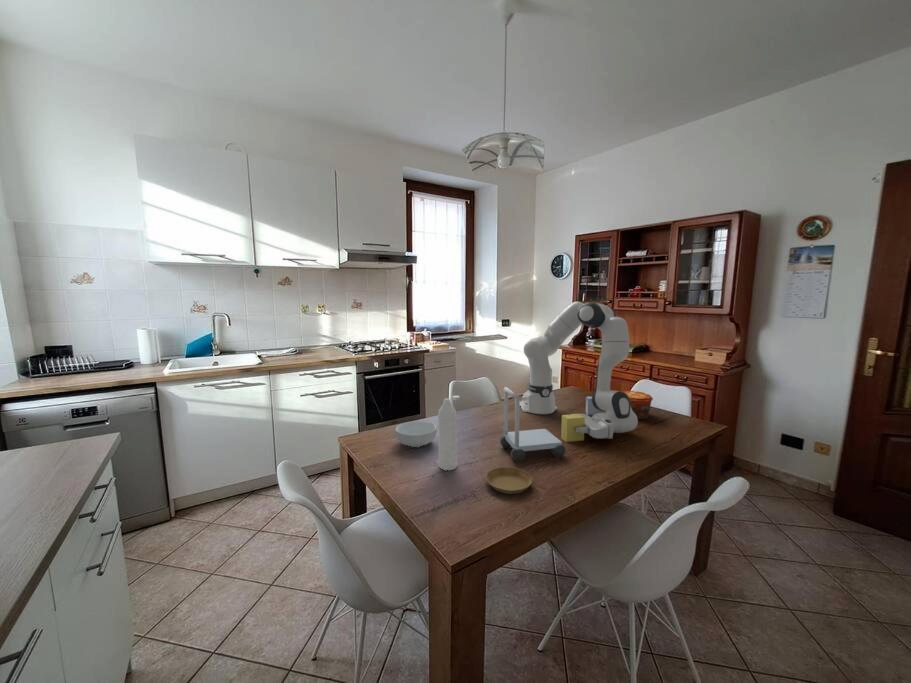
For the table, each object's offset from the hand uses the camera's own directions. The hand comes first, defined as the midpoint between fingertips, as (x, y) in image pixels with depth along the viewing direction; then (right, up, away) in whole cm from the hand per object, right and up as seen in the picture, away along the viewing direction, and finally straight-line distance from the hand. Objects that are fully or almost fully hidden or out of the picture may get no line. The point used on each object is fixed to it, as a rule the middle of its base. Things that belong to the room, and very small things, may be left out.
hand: (570, 426), depth 152 cm
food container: (+41, -2, +29) cm, 50 cm away
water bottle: (-50, -9, -22) cm, 56 cm away
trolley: (-19, -7, -11) cm, 23 cm away
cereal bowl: (-65, -7, -3) cm, 65 cm away
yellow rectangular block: (+1, -5, +1) cm, 6 cm away
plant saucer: (-31, -11, -35) cm, 48 cm away
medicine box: (+22, -1, +32) cm, 39 cm away
